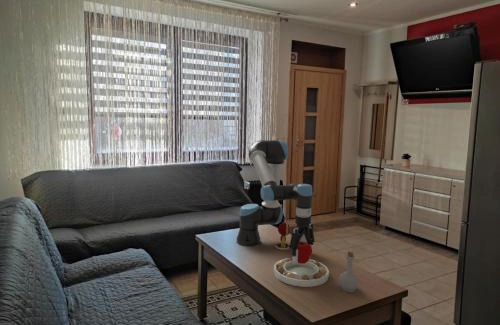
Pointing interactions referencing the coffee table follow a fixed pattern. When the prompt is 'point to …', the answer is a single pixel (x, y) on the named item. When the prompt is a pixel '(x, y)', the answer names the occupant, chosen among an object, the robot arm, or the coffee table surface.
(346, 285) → the potion bottle
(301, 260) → the apple
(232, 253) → the coffee table surface
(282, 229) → the figurine
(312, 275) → the bead tray
